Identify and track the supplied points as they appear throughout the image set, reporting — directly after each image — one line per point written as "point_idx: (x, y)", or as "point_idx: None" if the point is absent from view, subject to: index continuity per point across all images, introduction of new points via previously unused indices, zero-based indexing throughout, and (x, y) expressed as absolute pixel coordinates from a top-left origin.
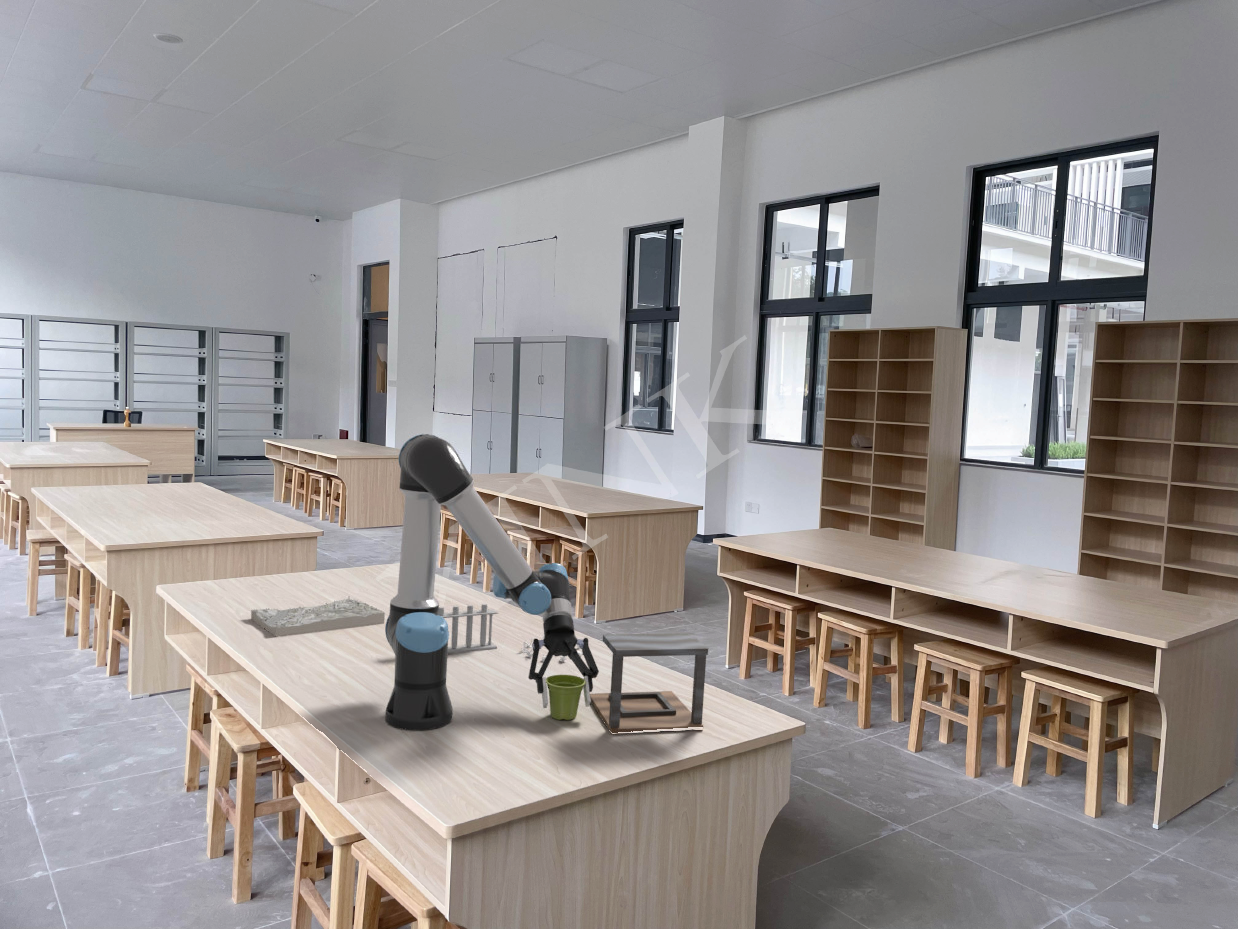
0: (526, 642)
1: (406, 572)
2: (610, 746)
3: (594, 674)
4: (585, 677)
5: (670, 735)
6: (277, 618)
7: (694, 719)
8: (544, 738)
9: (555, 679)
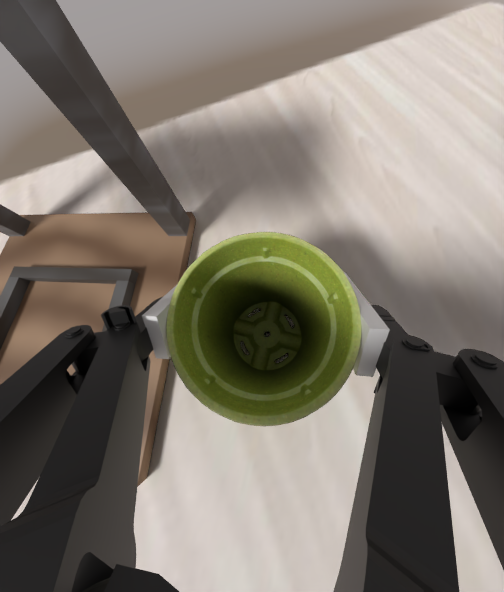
0: None
1: None
2: (219, 175)
3: (98, 333)
4: (156, 312)
5: (96, 208)
6: None
7: (18, 215)
8: (338, 215)
9: (290, 402)
